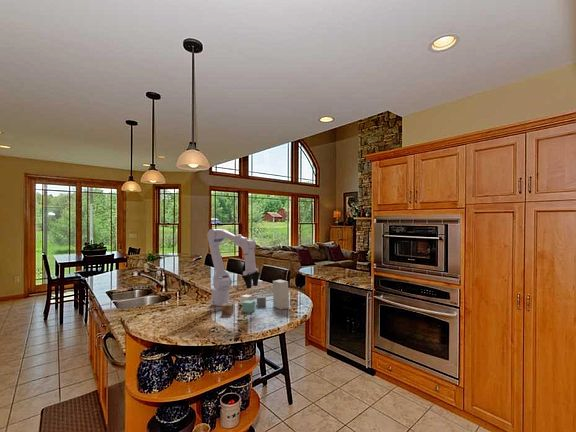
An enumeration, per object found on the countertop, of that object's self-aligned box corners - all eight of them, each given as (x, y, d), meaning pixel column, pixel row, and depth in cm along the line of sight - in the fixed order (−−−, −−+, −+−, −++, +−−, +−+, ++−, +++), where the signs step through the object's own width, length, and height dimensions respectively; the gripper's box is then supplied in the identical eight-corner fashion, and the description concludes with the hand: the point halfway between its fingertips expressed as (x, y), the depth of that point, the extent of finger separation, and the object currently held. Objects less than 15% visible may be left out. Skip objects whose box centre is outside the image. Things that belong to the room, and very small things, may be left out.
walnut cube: (221, 315, 154) (221, 305, 154) (224, 312, 159) (224, 302, 159) (231, 315, 153) (231, 305, 153) (233, 312, 158) (233, 302, 158)
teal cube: (242, 311, 159) (242, 302, 159) (246, 309, 164) (246, 300, 164) (250, 312, 158) (250, 303, 158) (254, 310, 162) (254, 300, 162)
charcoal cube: (256, 306, 169) (256, 297, 169) (257, 304, 174) (257, 295, 174) (265, 306, 169) (265, 297, 169) (265, 304, 174) (265, 295, 174)
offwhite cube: (240, 304, 173) (240, 296, 173) (245, 302, 177) (245, 294, 177) (247, 306, 170) (247, 297, 170) (252, 304, 174) (252, 295, 175)
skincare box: (289, 308, 166) (289, 281, 166) (280, 310, 162) (280, 282, 162) (281, 304, 173) (281, 278, 173) (272, 306, 169) (272, 280, 169)
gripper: (250, 262, 154) (252, 289, 153) (262, 259, 167) (264, 284, 166) (238, 263, 156) (240, 289, 155) (251, 260, 170) (253, 285, 169)
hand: (252, 287), depth 161 cm, fingers open, 7 cm apart
